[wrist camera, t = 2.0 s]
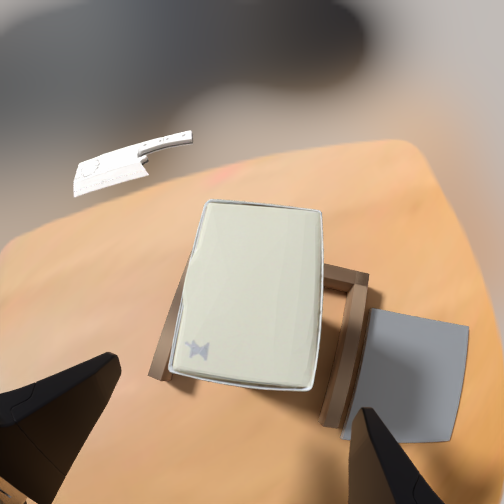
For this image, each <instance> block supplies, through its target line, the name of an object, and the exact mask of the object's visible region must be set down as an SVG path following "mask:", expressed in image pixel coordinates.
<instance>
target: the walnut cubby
mask: <svg viewBox="0 0 504 504" xmlns="http://www.w3.org/2000/svg"><path fill="white" fill-rule="evenodd" d="M192 250H193V249H192ZM191 254H192V251H191ZM191 254H190V256H189V259H188V261H187V264H186V267H185V269H184V272H183V274H182V277H181V280H180V282H179V285H178V288H177V291H176V293H175V296H174V299H173V302H172V304H171V307H170V310H169V313H168V316H167V319H166V321H165V324H164V327H163V330H162V333H161V336H160V339H159V342H158V345H157V348H156V351H155V354H154V357H153V361H152V364H151V367H150V370H149V373H148V376H150V377H152V378H155V379H157V380H160V381H170V380H171V377H172V374H173V373H172V372H170V371H169V370H168V364H169V360H170V355H171V349H172V343H173V338H174V333H175V327H176V322H177V317H178V312H179V308H180V303H181V298H182V293H183V287H184V282H185V277H186V273H187V269H188V265H189V261H190V257H191ZM368 280H369V274H367V273H363V272H359V271H354V270H350V269H346V268H342V267H337V266H333V265H329V264H324V281H323V287H326V288H330V289H335V290H339V291H344V292H347V298H346V304H345V310H344V315H343V321H342V326H341V331H340V336H339V341H338V345H337V350H336V354H335V359H334V363H333V367H332V371H331V376H330V380H329V383H328V387H327V391H326V395H325V399H324V402H323V406H322V409H321V413H320V416H319V419H318V422H319V423H320V424H321V425H322V426H324V427H331V428H338V426H339V423H340V419H341V416H342V412H343V409H344V405H345V401H346V398H347V394H348V390H349V386H350V382H351V377H352V373H353V369H354V364H355V359H356V355H357V350H358V345H359V339H360V334H361V328H362V322H363V316H364V310H365V303H366V296H367V288H368Z"/></svg>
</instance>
